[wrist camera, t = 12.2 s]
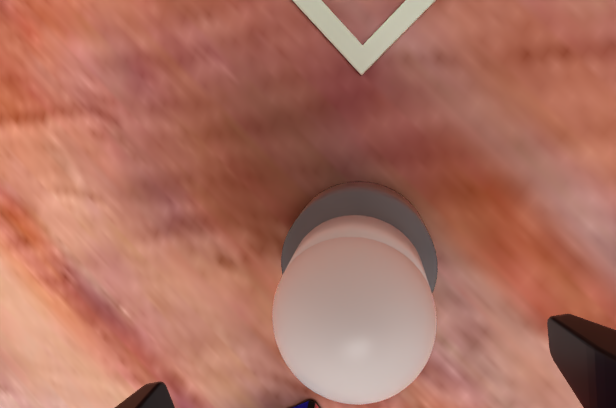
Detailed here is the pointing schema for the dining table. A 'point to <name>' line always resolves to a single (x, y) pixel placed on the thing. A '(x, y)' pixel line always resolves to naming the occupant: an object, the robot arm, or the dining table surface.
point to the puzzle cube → (307, 405)
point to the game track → (377, 43)
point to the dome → (355, 311)
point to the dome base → (365, 203)
